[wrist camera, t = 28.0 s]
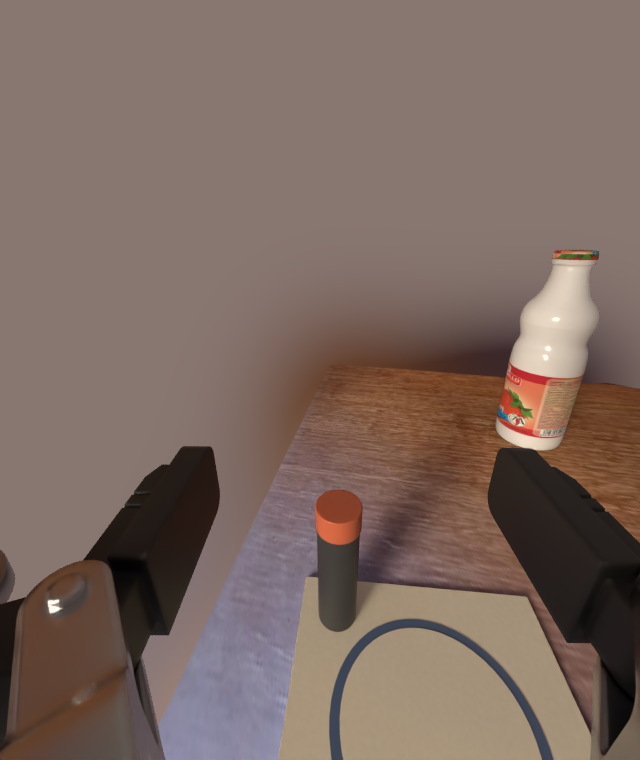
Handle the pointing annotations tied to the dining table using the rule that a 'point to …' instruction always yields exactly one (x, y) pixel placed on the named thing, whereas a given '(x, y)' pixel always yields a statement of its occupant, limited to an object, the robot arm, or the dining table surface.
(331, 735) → the paper
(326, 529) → the marker
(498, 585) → the dining table surface
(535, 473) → the robot arm
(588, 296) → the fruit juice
